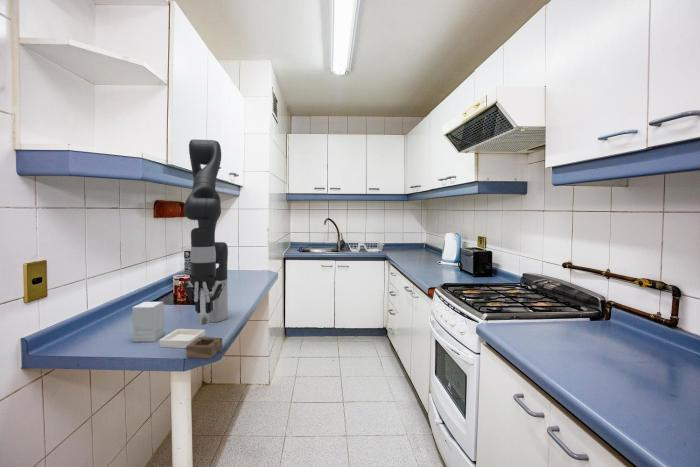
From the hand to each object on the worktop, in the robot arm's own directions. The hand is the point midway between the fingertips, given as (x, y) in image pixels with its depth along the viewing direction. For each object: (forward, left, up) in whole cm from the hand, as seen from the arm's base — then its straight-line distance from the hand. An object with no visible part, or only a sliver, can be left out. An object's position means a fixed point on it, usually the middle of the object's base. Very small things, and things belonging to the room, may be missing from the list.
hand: (204, 312), depth 106 cm
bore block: (0, 0, -13) cm, 13 cm away
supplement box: (-10, -26, -14) cm, 31 cm away
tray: (-8, -12, -13) cm, 20 cm away
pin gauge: (0, 0, -4) cm, 4 cm away
